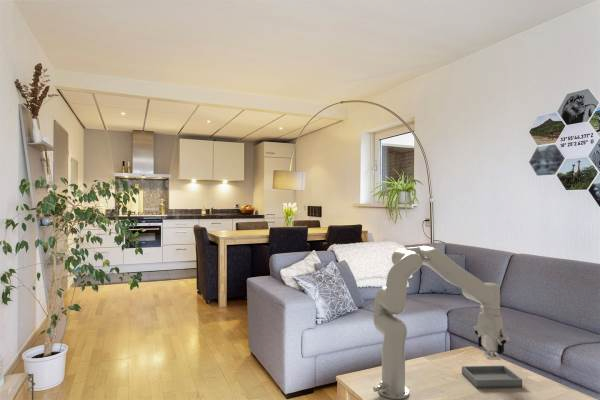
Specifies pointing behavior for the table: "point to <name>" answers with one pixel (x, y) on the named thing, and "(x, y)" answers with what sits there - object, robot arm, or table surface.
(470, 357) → the table surface
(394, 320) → the robot arm
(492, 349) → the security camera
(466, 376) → the parts tray
